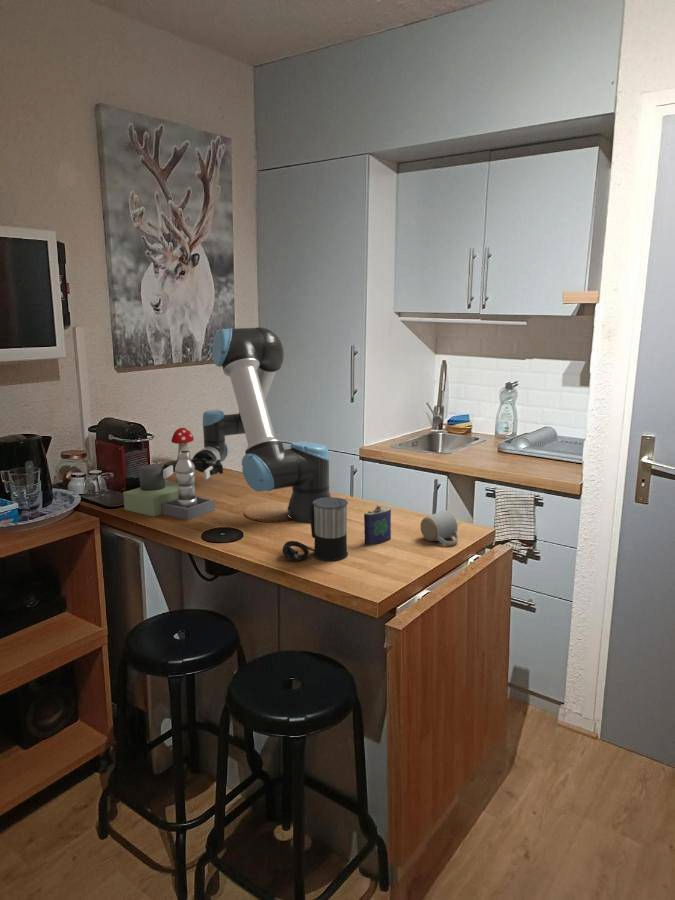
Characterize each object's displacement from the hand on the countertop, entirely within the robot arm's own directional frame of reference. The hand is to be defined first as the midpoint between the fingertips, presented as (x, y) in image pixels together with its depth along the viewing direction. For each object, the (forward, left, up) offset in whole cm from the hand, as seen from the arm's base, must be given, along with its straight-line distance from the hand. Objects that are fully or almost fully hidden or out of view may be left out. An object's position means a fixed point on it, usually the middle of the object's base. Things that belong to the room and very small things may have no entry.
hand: (184, 474), depth 214 cm
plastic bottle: (0, -1, -13) cm, 13 cm away
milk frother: (-57, +10, -13) cm, 60 cm away
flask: (-66, -9, -13) cm, 68 cm away
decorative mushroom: (+53, -50, -13) cm, 74 cm away
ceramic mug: (-81, -19, -13) cm, 84 cm away
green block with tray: (+7, -1, -13) cm, 14 cm away
